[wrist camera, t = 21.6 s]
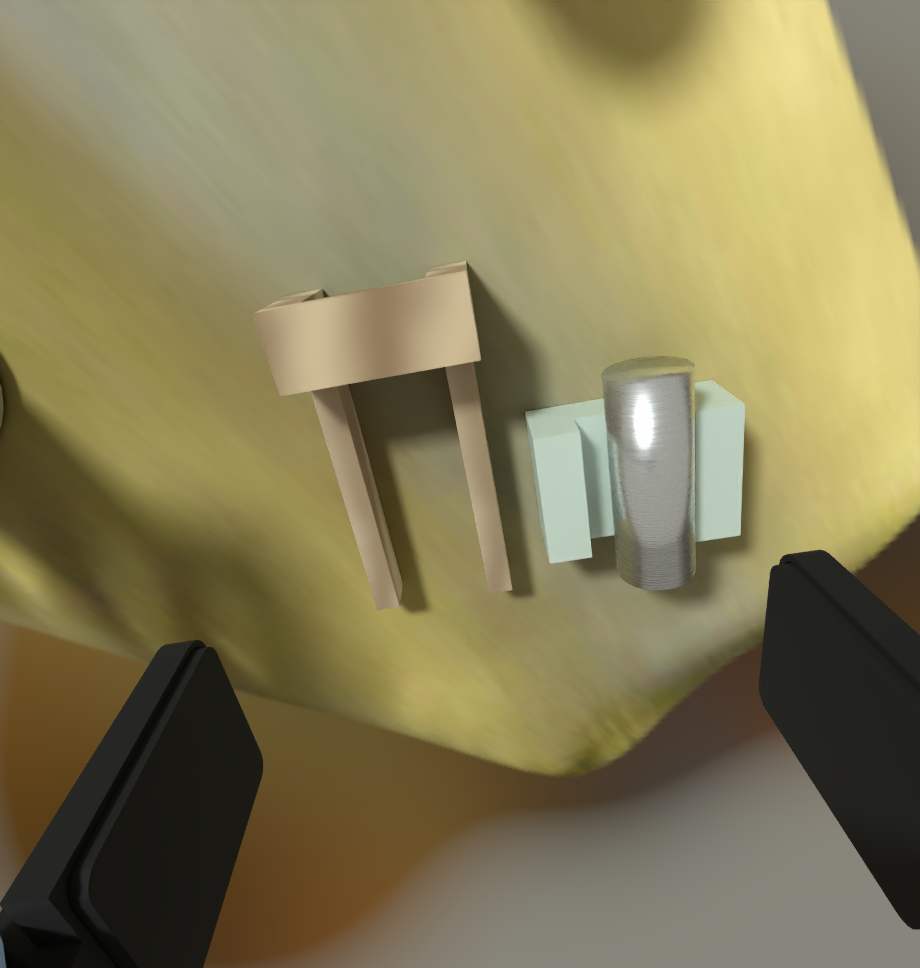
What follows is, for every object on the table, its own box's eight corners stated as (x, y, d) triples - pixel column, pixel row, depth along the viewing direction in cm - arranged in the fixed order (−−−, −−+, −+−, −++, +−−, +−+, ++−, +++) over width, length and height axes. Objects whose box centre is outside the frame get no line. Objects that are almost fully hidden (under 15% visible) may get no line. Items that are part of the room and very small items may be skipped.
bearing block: (375, 588, 41) (362, 645, 35) (287, 295, 32) (252, 313, 27) (516, 566, 40) (524, 622, 34) (465, 260, 31) (466, 273, 26)
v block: (540, 525, 38) (549, 563, 34) (524, 411, 35) (532, 439, 31) (710, 499, 37) (740, 535, 33) (711, 379, 34) (744, 404, 30)
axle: (657, 538, 37) (712, 569, 33) (601, 564, 35) (652, 600, 31) (650, 351, 31) (715, 364, 28) (584, 374, 30) (642, 390, 26)
